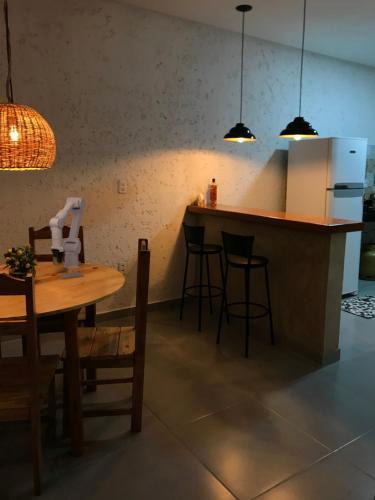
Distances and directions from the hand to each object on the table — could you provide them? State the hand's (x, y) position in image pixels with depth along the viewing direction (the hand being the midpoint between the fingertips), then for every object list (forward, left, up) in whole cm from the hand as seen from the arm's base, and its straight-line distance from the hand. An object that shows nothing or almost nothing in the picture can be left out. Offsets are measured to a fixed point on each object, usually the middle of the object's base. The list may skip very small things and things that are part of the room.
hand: (58, 261), depth 239 cm
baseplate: (+10, +4, -7) cm, 13 cm away
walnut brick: (0, 0, -2) cm, 2 cm away
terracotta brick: (+3, +7, -7) cm, 11 cm away
